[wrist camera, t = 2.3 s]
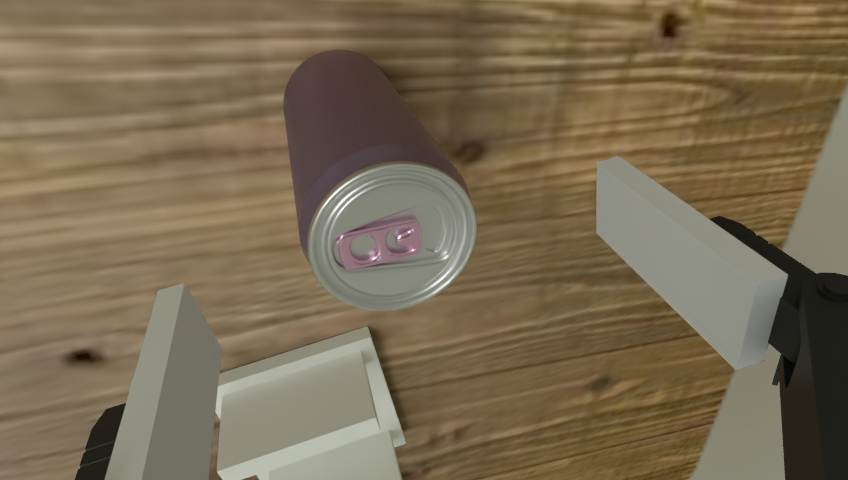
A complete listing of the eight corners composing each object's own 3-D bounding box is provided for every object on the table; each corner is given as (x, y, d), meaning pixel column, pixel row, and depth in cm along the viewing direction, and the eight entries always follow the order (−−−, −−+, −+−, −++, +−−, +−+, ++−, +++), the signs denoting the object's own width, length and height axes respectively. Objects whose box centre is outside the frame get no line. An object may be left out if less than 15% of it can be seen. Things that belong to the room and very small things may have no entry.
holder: (267, 479, 44) (268, 566, 38) (203, 378, 37) (192, 468, 31) (403, 432, 46) (424, 509, 40) (367, 325, 38) (387, 401, 32)
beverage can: (270, 56, 27) (280, 180, 15) (383, 39, 28) (480, 141, 16) (296, 162, 30) (322, 334, 18) (396, 142, 31) (485, 293, 19)
